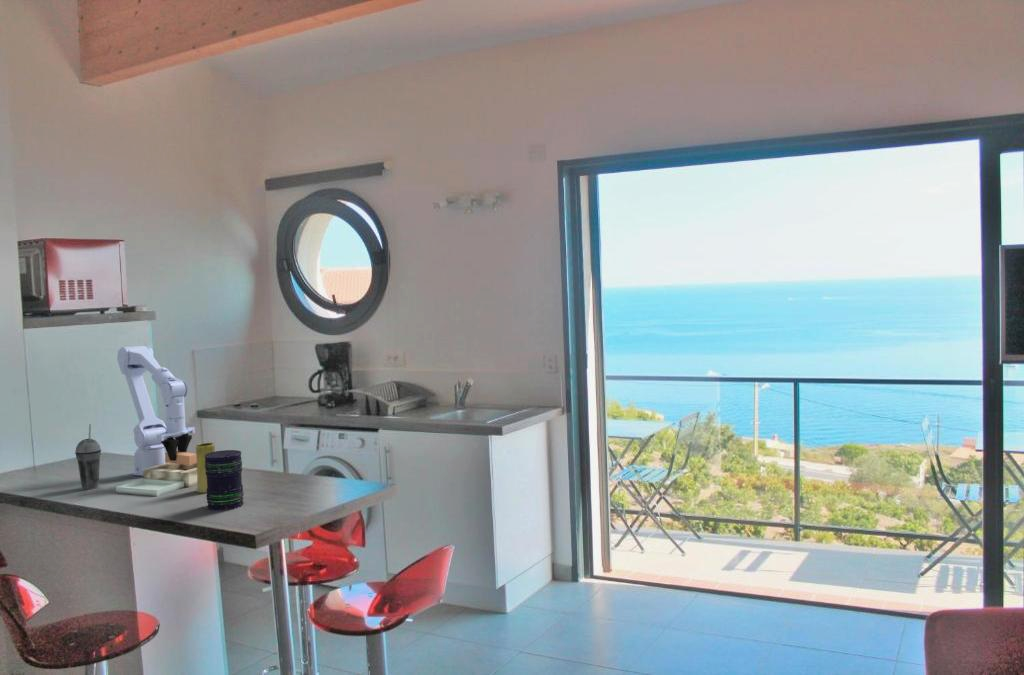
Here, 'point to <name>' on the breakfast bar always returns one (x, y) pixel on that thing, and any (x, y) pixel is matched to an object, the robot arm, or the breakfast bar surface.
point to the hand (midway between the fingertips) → (177, 458)
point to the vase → (202, 465)
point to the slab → (183, 458)
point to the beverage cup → (88, 462)
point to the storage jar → (224, 480)
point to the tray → (150, 487)
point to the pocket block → (173, 473)
